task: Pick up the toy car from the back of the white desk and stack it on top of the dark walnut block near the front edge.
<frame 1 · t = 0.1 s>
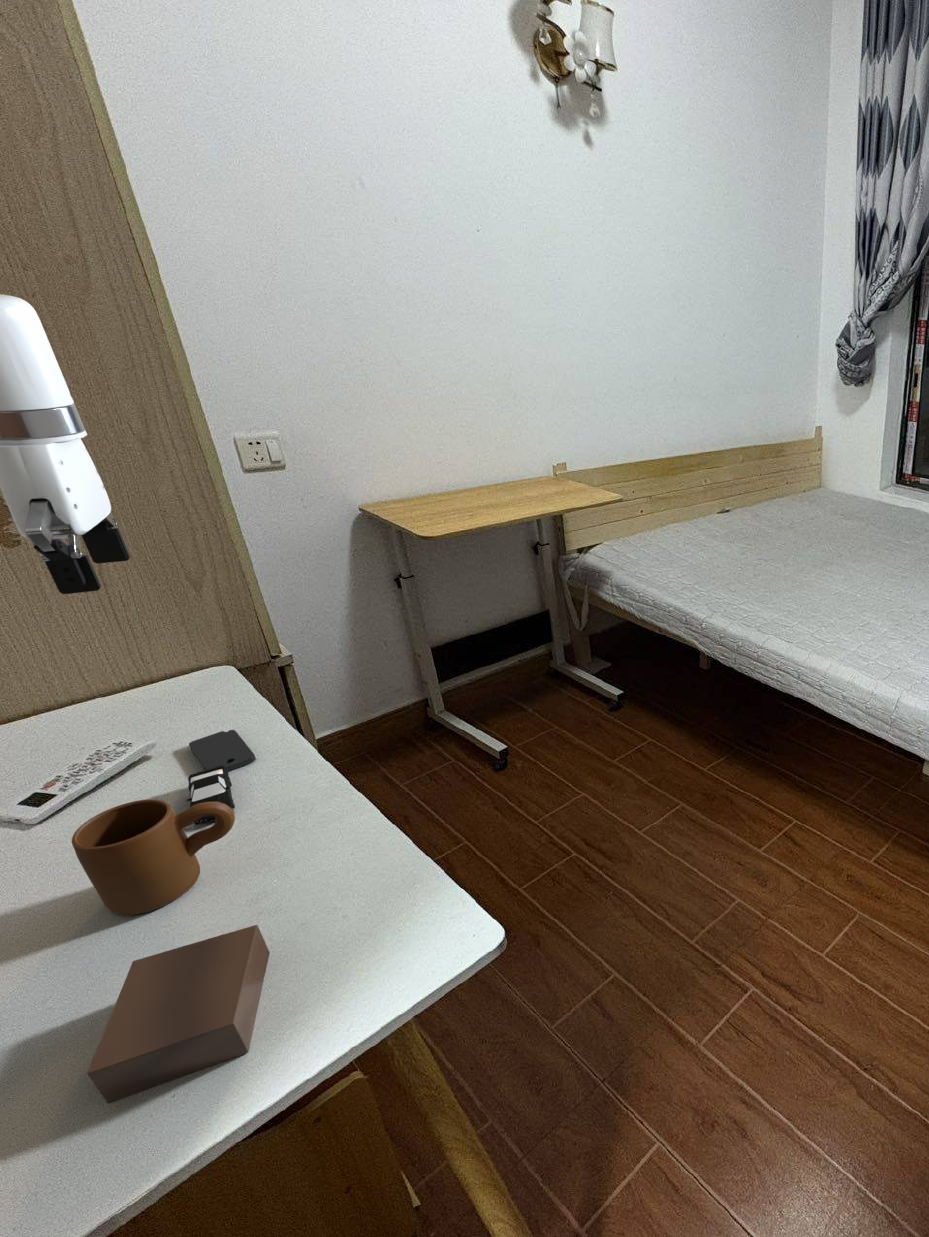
hand: (98, 575, 77), 28 cm above the table, tool pointing down, fingers open, 9 cm apart
mug: (184, 882, 74), on the table
walnut block: (197, 1020, 60), on the table
toy car: (214, 803, 84), on the table
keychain: (223, 754, 93), on the table
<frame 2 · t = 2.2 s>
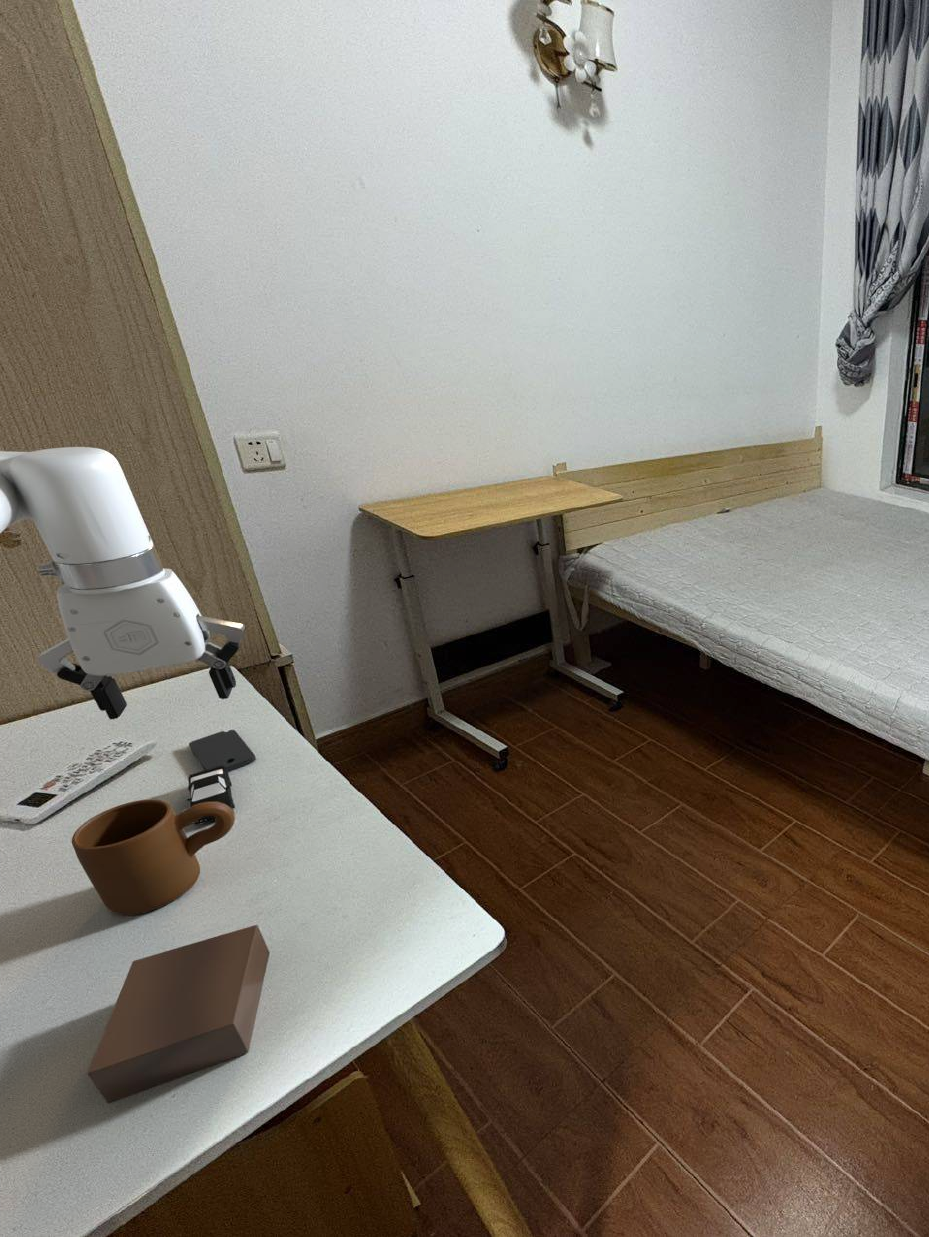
hand: (174, 702, 79), 15 cm above the table, tool pointing down, fingers open, 9 cm apart
nothing on the table moved.
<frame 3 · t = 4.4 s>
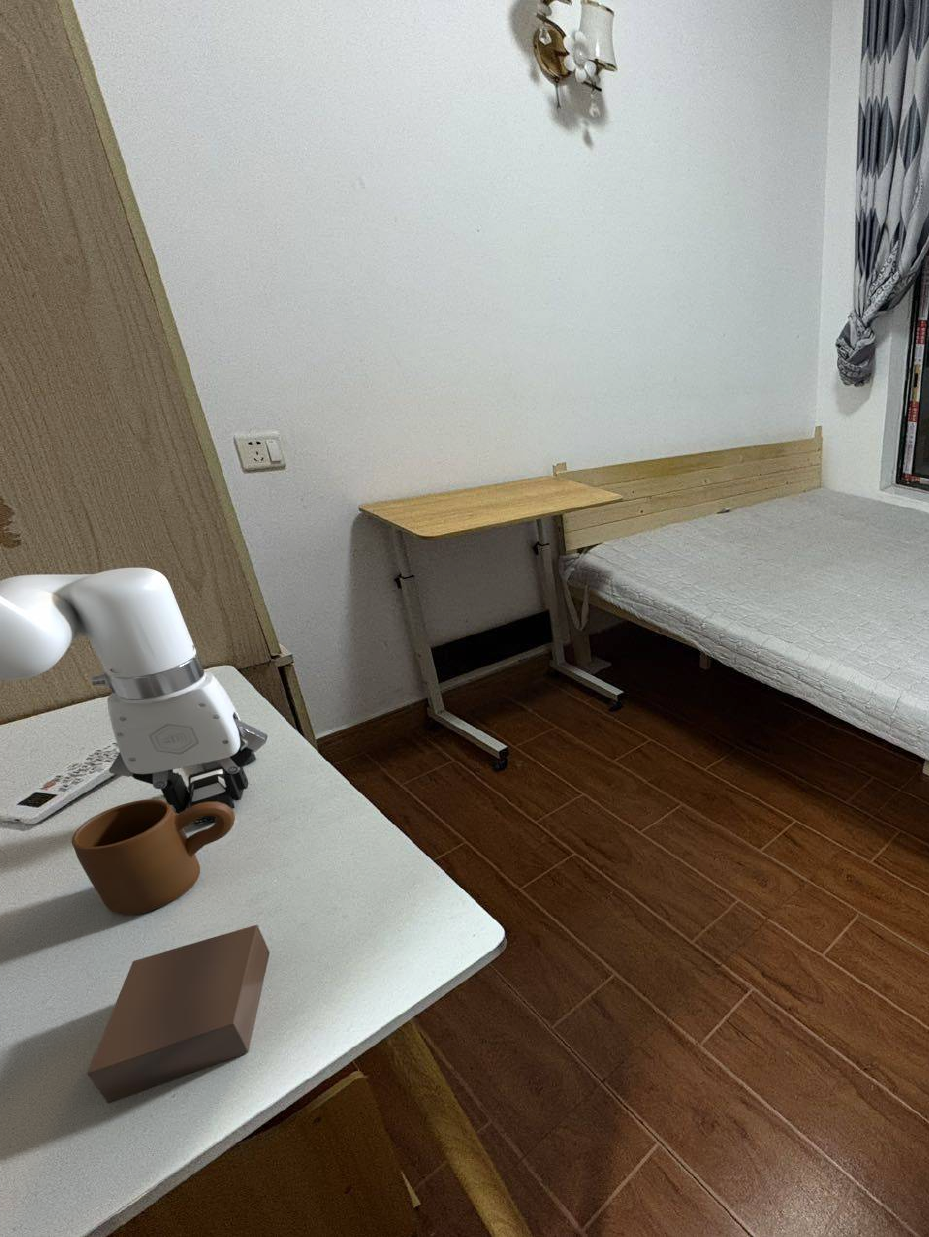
hand: (211, 798, 84), 1 cm above the table, tool pointing down, fingers closed on toy car, 4 cm apart
toy car: (213, 803, 84), on the table, touching gripper
everything else where it was.
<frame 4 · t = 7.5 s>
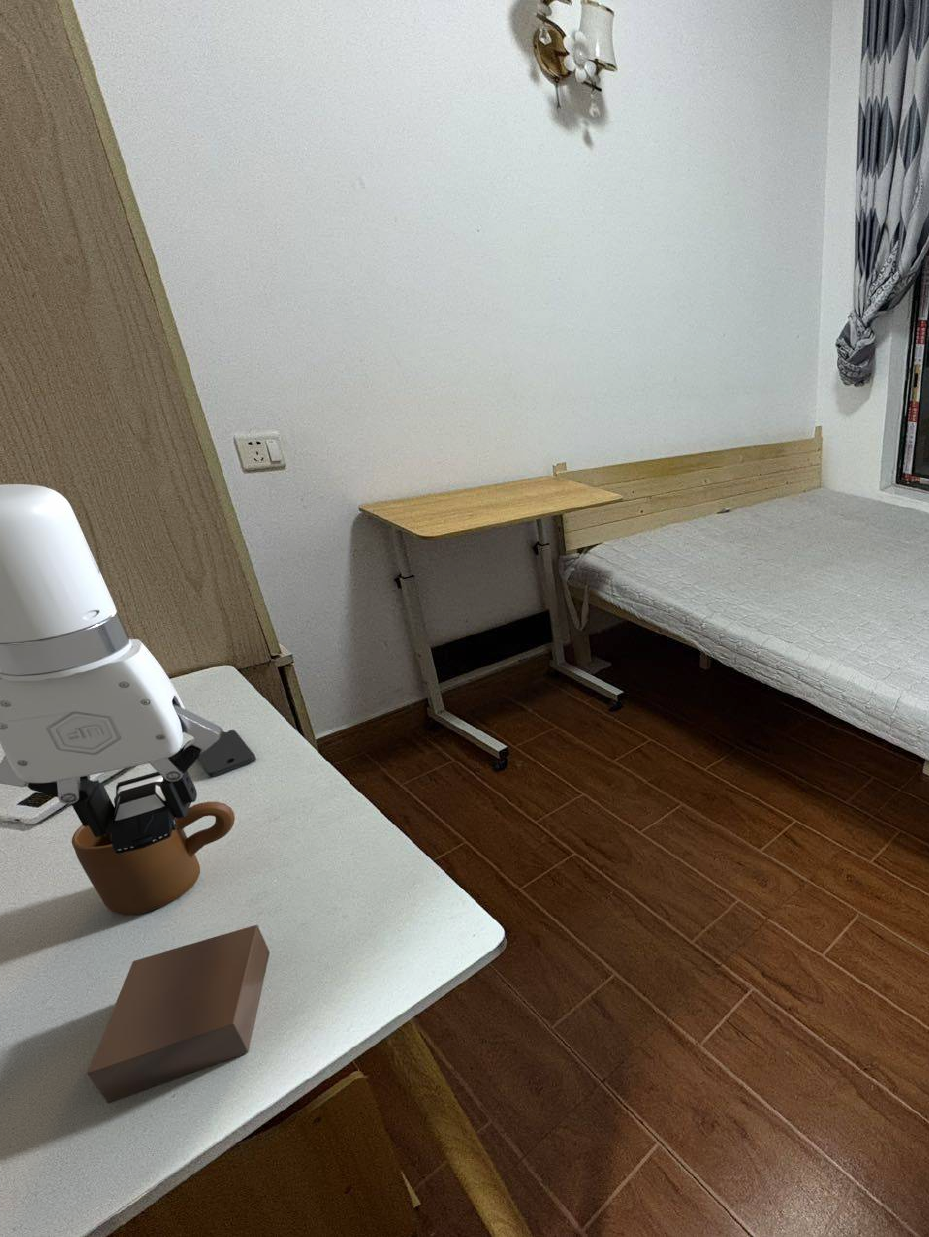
hand: (146, 815, 61), 15 cm above the table, tool pointing down, fingers closed on toy car, 4 cm apart
toy car: (149, 822, 62), point 15 cm above the table, touching gripper
everything else where it was.
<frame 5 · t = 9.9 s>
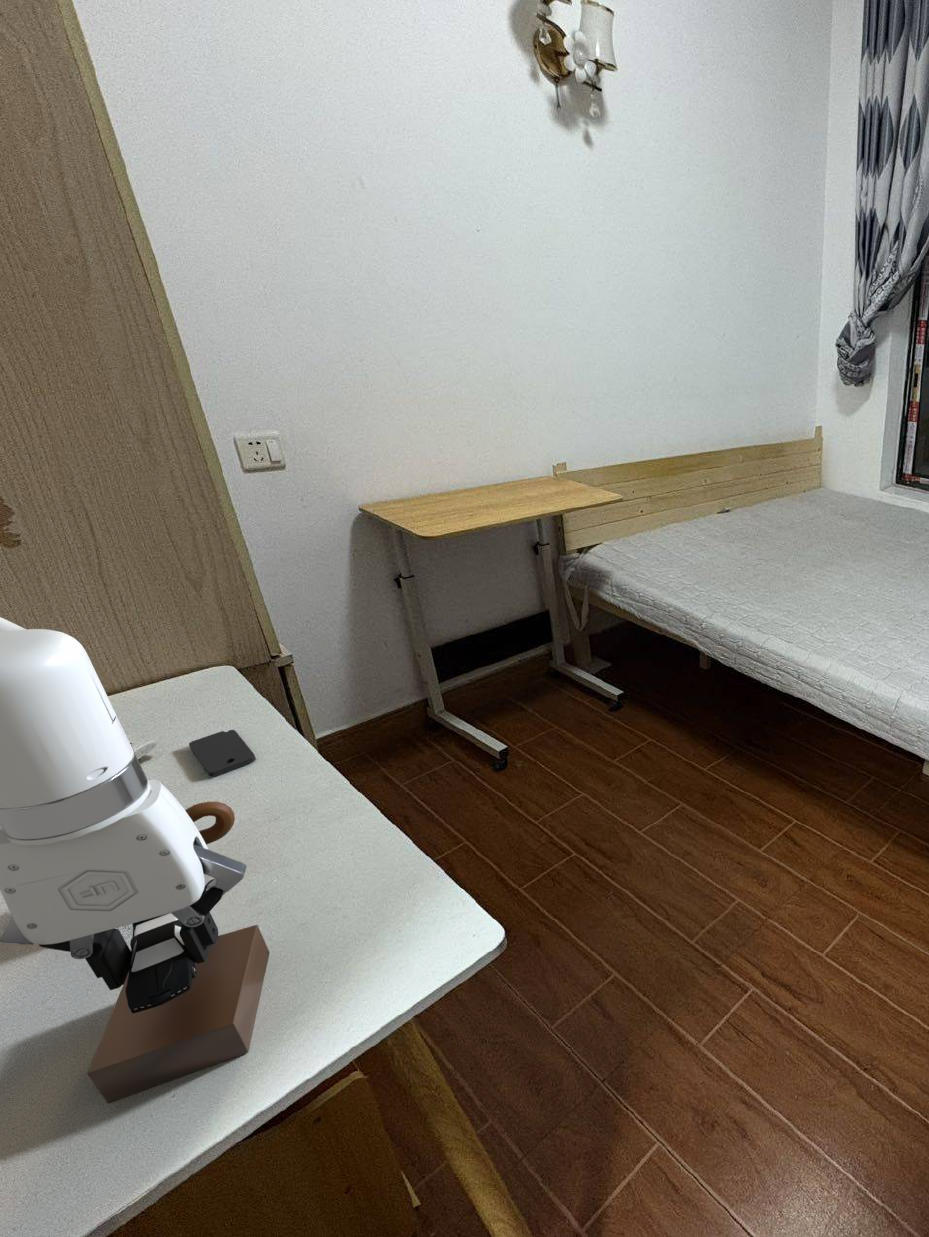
hand: (164, 960, 57), 8 cm above the table, tool pointing down, fingers closed on toy car, 4 cm apart
toy car: (167, 967, 57), point 7 cm above the table, touching gripper
everything else where it was.
when the fingers open (5 cm above the table, at t = 11.1 s): toy car stays where it is, resting on walnut block.
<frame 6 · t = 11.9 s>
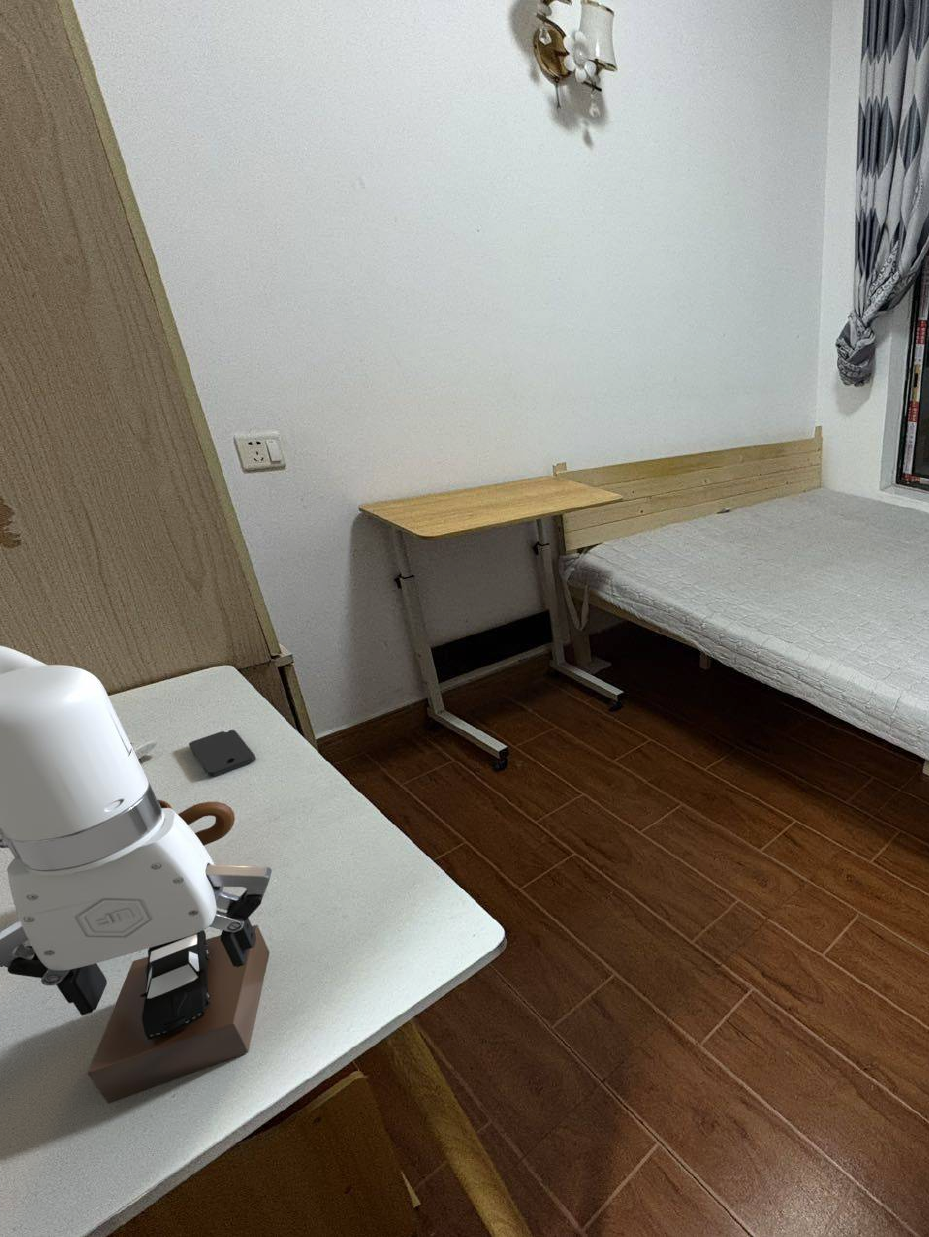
hand: (172, 975, 58), 6 cm above the table, tool pointing down, fingers open, 9 cm apart
walnut block: (197, 1020, 60), on the table, touching toy car
toy car: (181, 992, 58), point 4 cm above the table, touching walnut block
everything else where it was.
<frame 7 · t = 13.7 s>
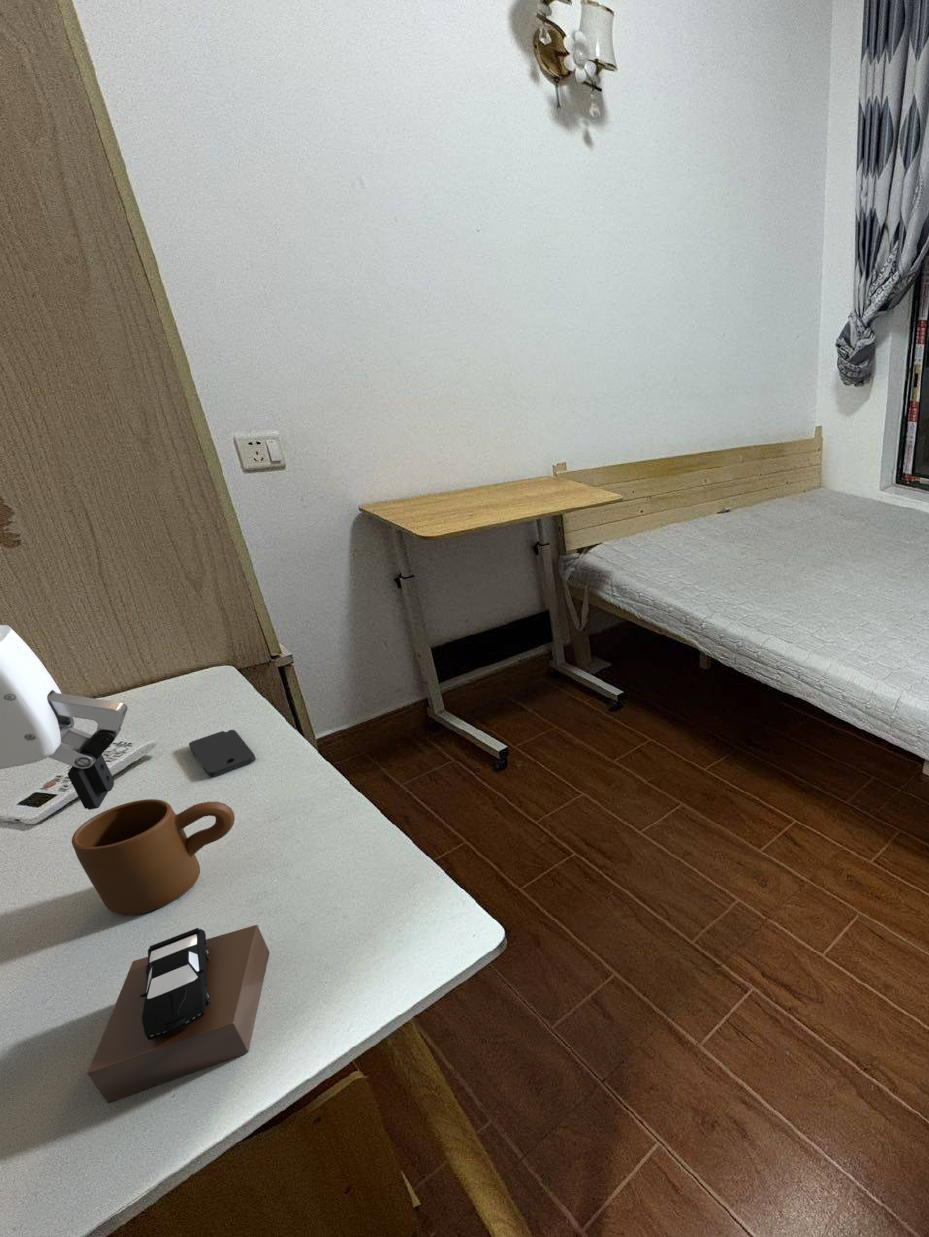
hand: (17, 815, 54), 20 cm above the table, tool pointing down, fingers open, 9 cm apart
nothing on the table moved.
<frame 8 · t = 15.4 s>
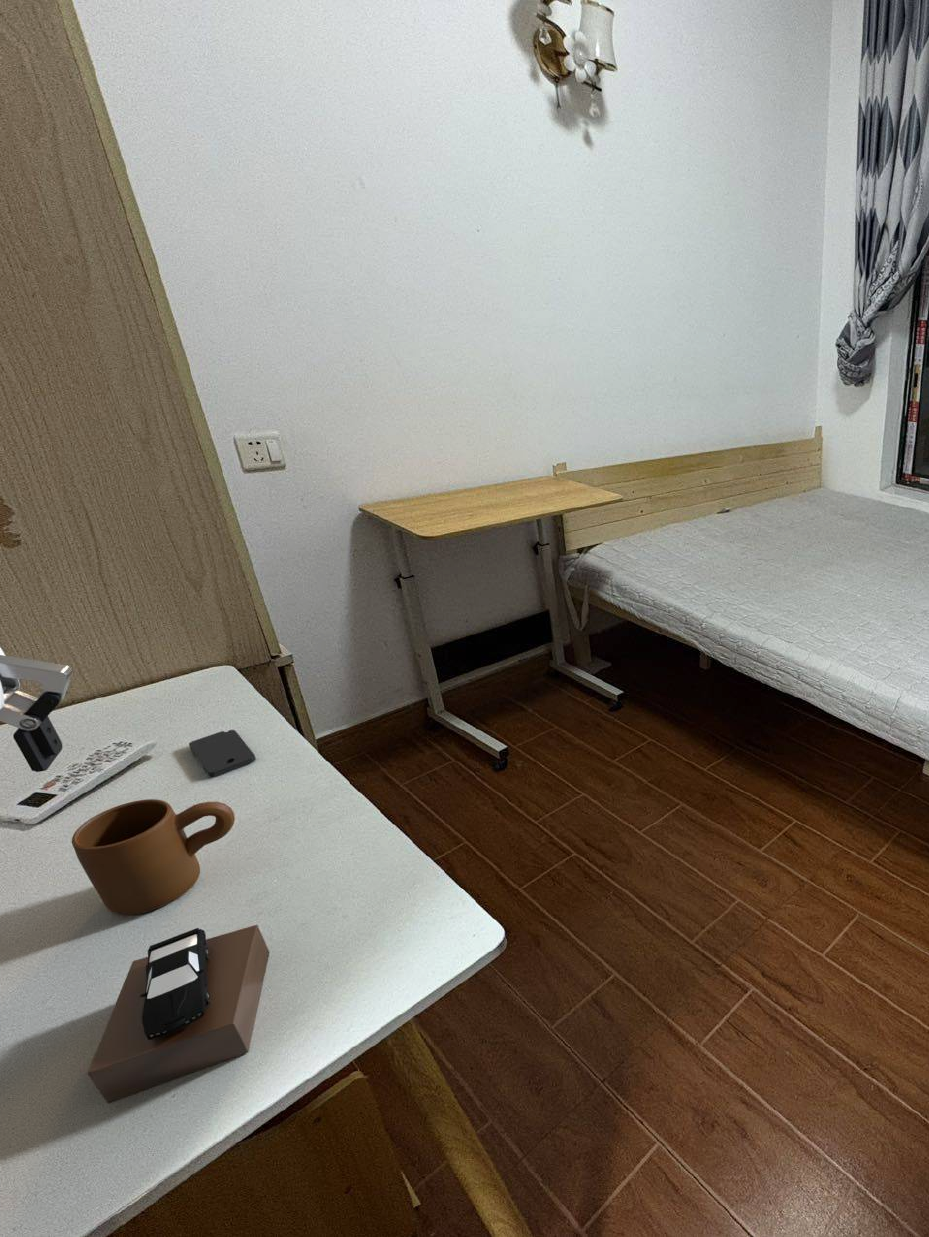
nothing on the table moved.
at the end: toy car inside the target area on the walnut block (0.0 cm from its centre), point 3.8 cm above the walnut block's base; toy car tilted 0°; the gripper is holding nothing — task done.
